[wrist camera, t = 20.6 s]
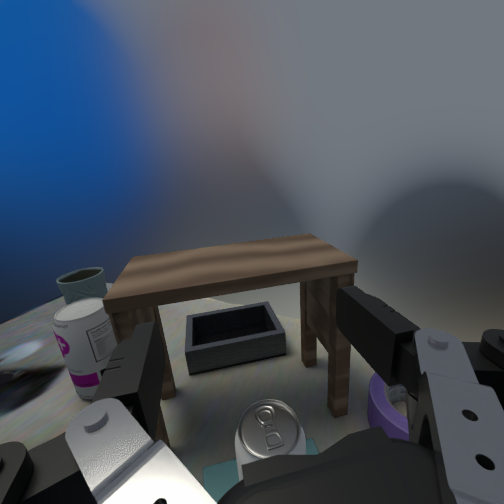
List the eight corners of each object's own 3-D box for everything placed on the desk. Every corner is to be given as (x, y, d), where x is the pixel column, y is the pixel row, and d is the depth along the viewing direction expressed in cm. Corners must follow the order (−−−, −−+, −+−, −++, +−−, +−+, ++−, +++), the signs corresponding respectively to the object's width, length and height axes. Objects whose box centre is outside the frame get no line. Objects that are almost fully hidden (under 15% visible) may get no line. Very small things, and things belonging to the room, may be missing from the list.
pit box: (286, 354, 49) (285, 332, 48) (189, 375, 46) (184, 352, 45) (269, 320, 60) (267, 301, 59) (190, 335, 57) (186, 315, 56)
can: (292, 467, 31) (289, 387, 27) (319, 539, 25) (319, 449, 21) (238, 486, 29) (227, 405, 26) (253, 567, 23) (241, 477, 20)
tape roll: (375, 463, 31) (378, 432, 29) (361, 385, 42) (363, 359, 40) (495, 486, 28) (505, 454, 26) (447, 396, 39) (452, 369, 37)
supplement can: (77, 411, 41) (46, 330, 36) (78, 378, 48) (52, 306, 43) (133, 386, 45) (111, 310, 40) (126, 359, 52) (107, 291, 47)
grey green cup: (74, 332, 62) (59, 286, 58) (67, 317, 69) (53, 275, 66) (119, 314, 68) (108, 272, 65) (108, 302, 76) (97, 263, 72)
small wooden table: (349, 417, 36) (357, 260, 29) (151, 470, 32) (102, 300, 24) (310, 355, 49) (309, 233, 41) (163, 387, 44) (132, 257, 37)
